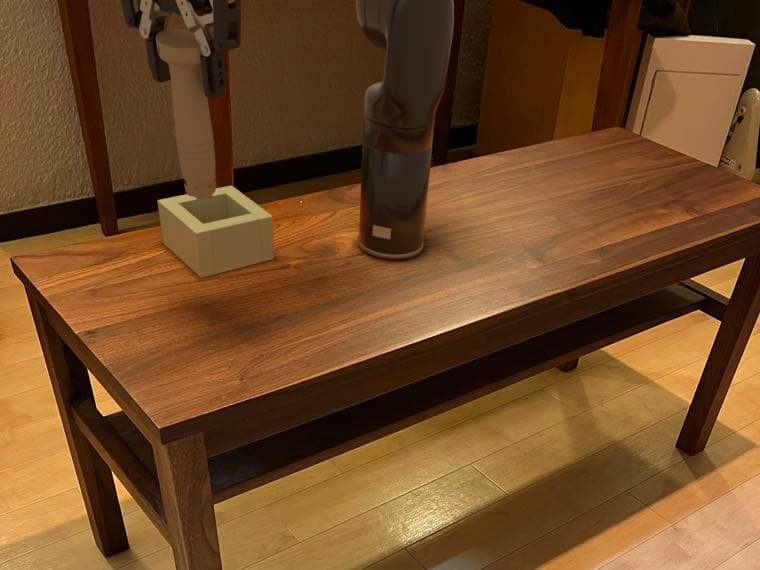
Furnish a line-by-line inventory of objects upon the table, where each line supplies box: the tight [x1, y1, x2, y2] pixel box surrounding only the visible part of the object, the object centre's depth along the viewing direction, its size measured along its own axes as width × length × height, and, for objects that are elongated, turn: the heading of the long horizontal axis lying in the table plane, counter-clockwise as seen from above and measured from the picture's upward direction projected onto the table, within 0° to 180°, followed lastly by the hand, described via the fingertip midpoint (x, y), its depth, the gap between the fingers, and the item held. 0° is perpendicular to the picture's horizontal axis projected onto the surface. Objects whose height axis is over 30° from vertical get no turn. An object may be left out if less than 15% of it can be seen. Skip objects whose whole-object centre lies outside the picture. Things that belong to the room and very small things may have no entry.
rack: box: [157, 185, 275, 278], centre depth 107 cm, size 11×11×6 cm
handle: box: [156, 28, 217, 199], centre depth 83 cm, size 5×6×15 cm
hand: (188, 87), depth 80 cm, fingers closed on handle, 6 cm apart
